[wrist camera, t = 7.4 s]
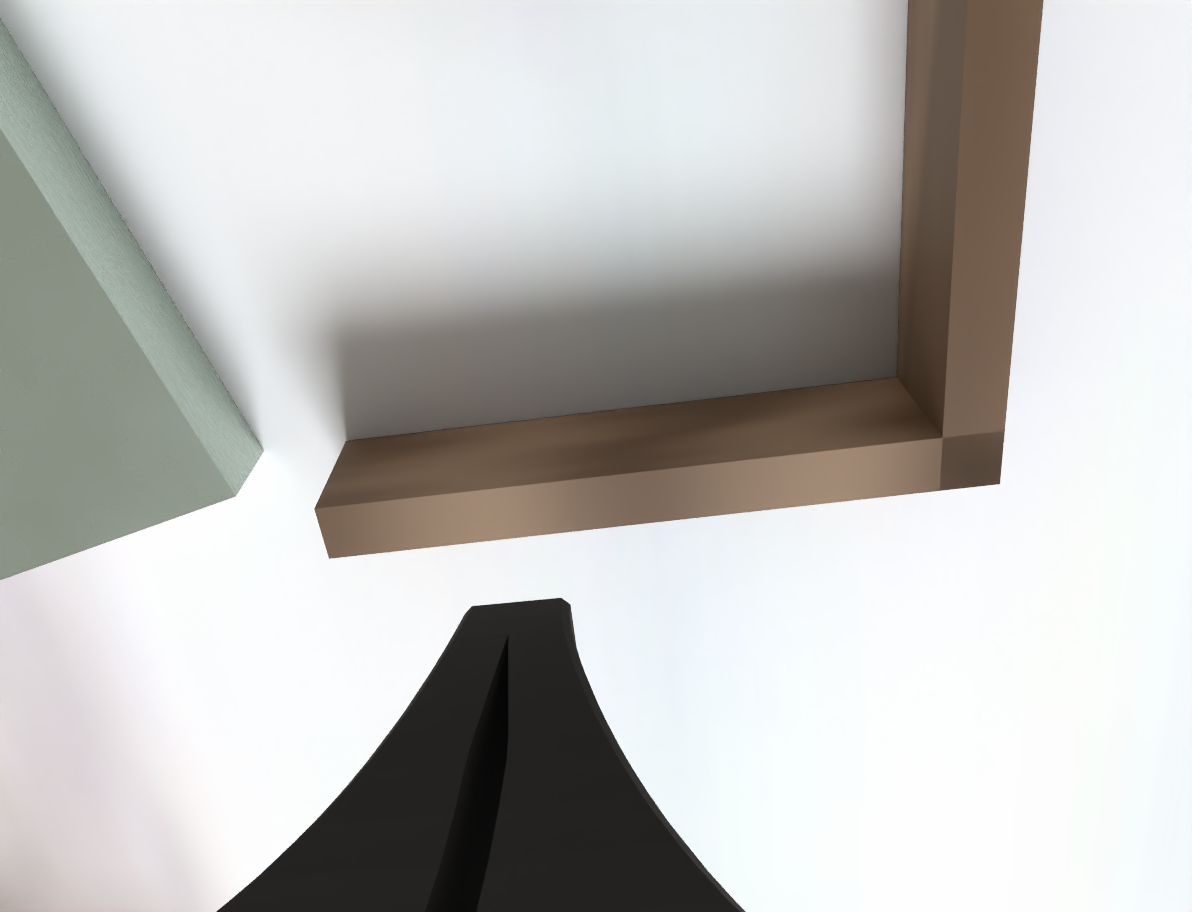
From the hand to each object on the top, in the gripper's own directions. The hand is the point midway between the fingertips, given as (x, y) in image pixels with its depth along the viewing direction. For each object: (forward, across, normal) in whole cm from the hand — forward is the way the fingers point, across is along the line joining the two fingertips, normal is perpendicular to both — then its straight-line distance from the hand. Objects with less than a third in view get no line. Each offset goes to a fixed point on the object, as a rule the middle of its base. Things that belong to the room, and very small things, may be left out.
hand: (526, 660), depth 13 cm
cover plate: (+10, +11, -4) cm, 15 cm away
